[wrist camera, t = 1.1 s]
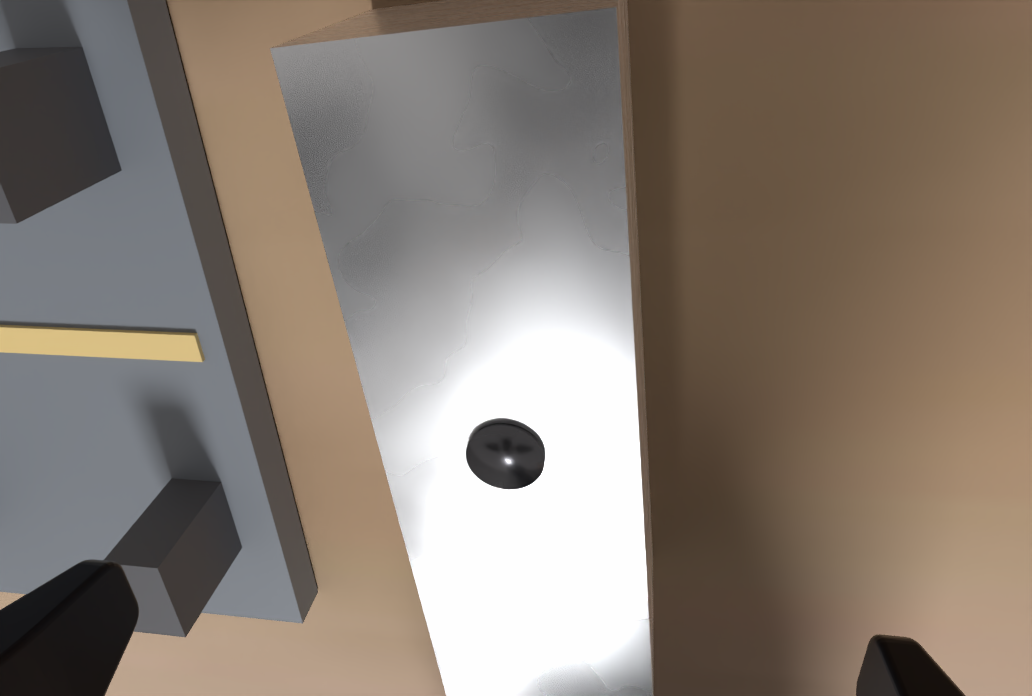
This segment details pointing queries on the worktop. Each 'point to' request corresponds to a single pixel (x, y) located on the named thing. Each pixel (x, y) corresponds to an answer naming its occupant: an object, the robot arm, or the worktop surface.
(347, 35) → the shiny metal block
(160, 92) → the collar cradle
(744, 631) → the worktop surface
